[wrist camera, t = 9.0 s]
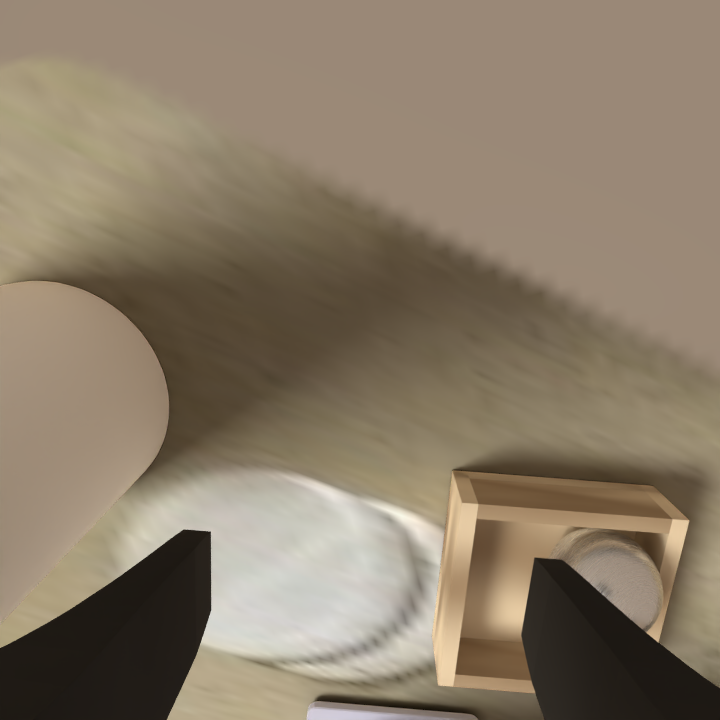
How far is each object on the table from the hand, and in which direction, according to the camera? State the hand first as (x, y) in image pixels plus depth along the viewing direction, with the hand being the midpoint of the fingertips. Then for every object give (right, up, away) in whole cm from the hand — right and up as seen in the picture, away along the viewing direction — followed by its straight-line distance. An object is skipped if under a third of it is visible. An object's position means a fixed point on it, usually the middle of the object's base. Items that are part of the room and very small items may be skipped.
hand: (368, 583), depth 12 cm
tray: (+7, -4, +11) cm, 14 cm away
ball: (+9, -3, +8) cm, 13 cm away
